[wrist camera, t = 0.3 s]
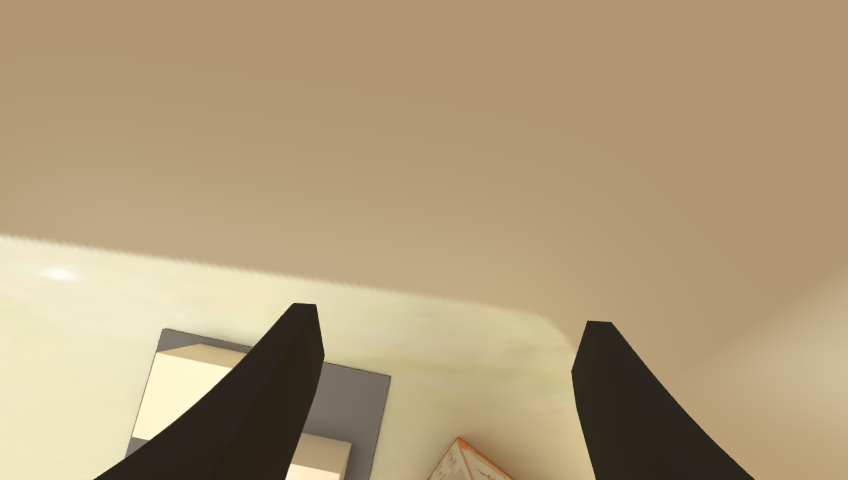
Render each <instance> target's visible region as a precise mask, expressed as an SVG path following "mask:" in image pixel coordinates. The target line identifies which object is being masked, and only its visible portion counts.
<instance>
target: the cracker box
mask: <svg viewBox="0 0 848 480" xmlns="http://www.w3.org/2000/svg"><path fill="white" fill-rule="evenodd" d="M428 480H513V479H511V478H510V477H509V476H508V475H506V474H505V473H504V472H503V471H501V470H500V469H499V468H497V467H496V466H495V465H494V464H492V463H491V462H490V461H488V460H487V459H486V458H484V457H483V456H482V455H481V454H479V453H478V452H477V451H476V450H474V449H473V448H472V447H470V446H469V445H468V444H467V443H465V442H464V441H463V440H461V439H460V438H457V439H456V441H455V442H454V444H453V445H452V446H451V448H450V449H449V451H448V452H447V453H446V455H445V456H444V458H443V459H442V461H441V462H440V463H439V465H438V466H437V468H436V469H435V471H434V472H433V474H432V475H431V477H430V478H429V479H428Z"/></svg>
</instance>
